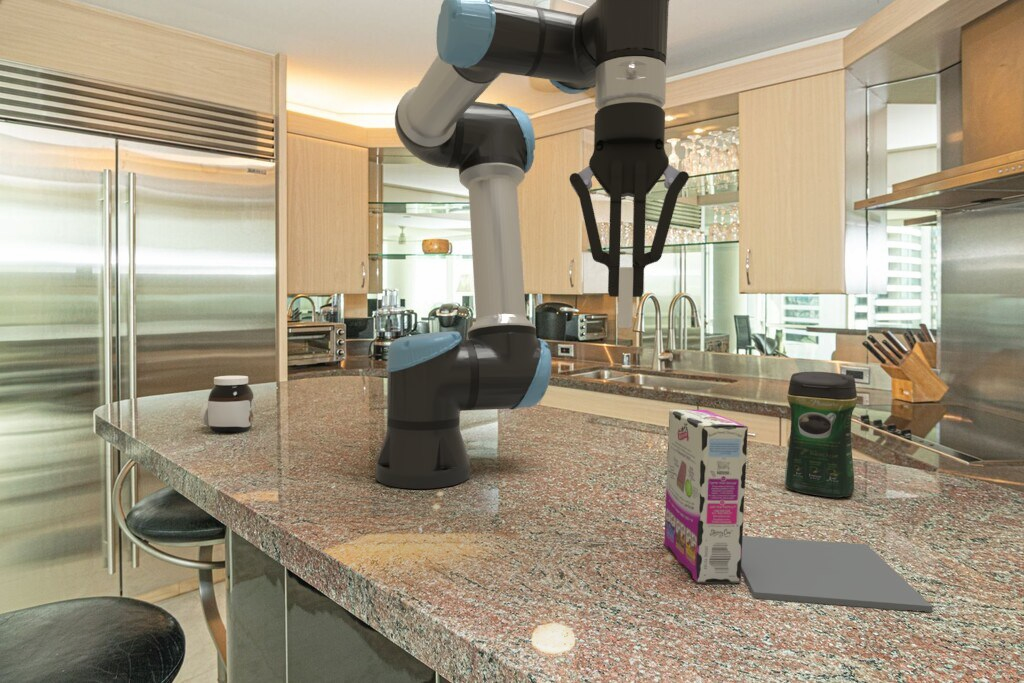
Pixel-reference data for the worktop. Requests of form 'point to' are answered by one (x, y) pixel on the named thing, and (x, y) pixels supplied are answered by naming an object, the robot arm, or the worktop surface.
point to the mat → (825, 574)
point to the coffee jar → (821, 434)
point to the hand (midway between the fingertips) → (624, 327)
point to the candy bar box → (706, 494)
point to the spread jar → (229, 406)
